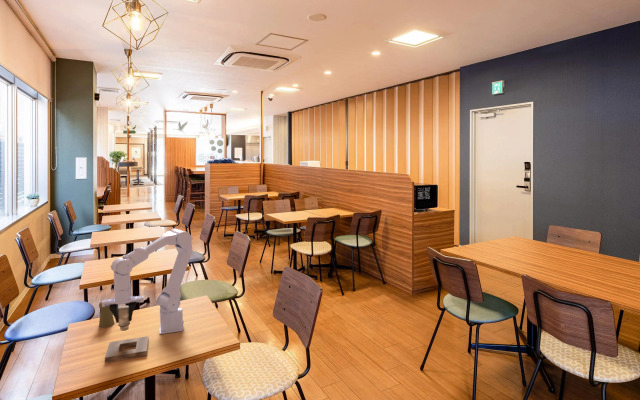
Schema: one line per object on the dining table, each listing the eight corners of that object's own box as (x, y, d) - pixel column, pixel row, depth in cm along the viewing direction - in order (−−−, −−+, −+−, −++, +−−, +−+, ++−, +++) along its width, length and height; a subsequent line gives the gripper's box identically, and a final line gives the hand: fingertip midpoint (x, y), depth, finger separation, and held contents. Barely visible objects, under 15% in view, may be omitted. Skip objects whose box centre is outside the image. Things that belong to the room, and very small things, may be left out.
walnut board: (148, 340, 152) (148, 336, 152) (147, 355, 141) (146, 350, 141) (109, 346, 147) (109, 342, 146) (105, 362, 136) (104, 357, 135)
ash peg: (130, 326, 151) (129, 304, 150) (129, 330, 147) (128, 308, 146) (119, 327, 149) (118, 306, 148) (117, 332, 145) (116, 310, 144)
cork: (107, 328, 162) (106, 304, 160) (95, 326, 163) (94, 302, 162) (117, 322, 168) (116, 299, 166) (106, 320, 169) (104, 297, 168)
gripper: (143, 282, 152) (144, 314, 154) (103, 286, 147) (105, 319, 149) (142, 288, 146) (143, 321, 147) (100, 293, 140) (101, 327, 142)
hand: (124, 321), depth 147 cm, fingers closed on ash peg, 4 cm apart
